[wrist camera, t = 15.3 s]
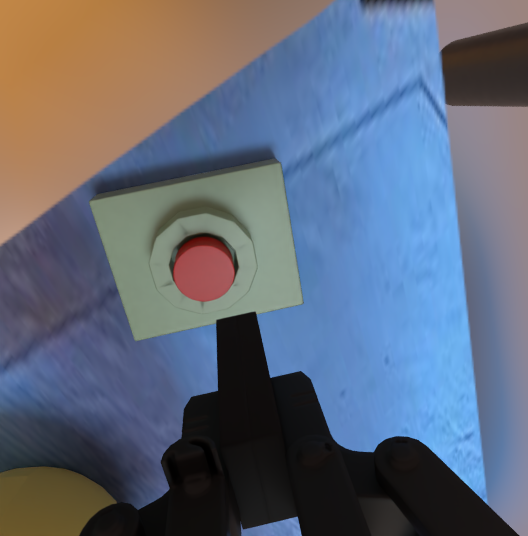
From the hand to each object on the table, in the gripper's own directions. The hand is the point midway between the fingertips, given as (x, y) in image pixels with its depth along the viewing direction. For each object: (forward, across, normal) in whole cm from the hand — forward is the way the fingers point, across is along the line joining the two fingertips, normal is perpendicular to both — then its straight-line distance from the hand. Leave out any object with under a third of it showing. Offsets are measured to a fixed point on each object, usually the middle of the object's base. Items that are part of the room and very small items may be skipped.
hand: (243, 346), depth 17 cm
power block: (+15, -2, 0) cm, 15 cm away
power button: (+12, -2, 0) cm, 12 cm away
